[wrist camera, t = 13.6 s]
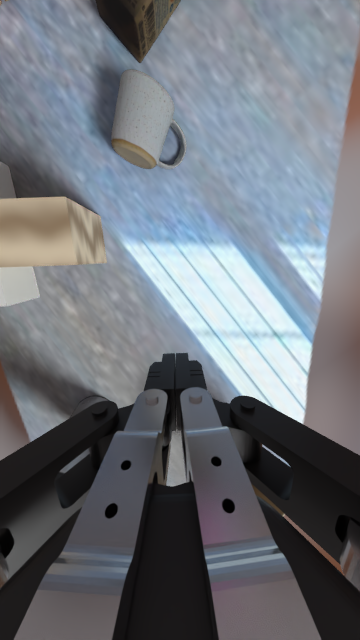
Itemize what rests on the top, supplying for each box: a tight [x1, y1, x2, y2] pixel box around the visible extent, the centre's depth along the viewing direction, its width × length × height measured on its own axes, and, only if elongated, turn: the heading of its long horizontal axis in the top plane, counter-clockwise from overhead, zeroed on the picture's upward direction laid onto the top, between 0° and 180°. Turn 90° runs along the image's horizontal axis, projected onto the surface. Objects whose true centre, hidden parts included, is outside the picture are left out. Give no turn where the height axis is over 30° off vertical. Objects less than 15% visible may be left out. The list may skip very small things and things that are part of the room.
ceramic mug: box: [111, 69, 186, 169], centre depth 29 cm, size 11×8×8 cm
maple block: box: [0, 197, 107, 267], centre depth 31 cm, size 8×14×12 cm, turn 92°
